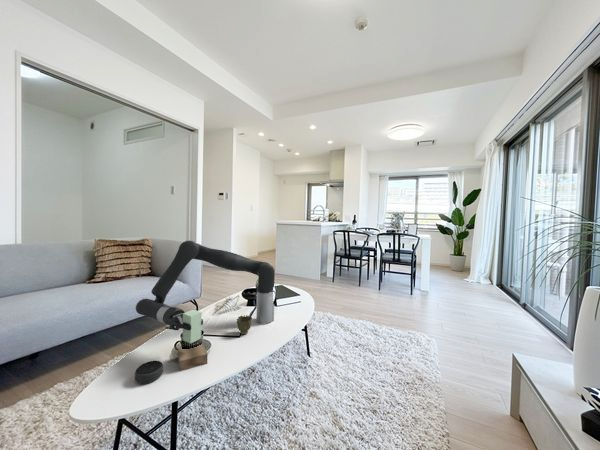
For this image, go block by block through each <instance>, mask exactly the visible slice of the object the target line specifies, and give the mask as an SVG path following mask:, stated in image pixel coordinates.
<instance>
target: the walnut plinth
mask: <svg viewBox="0 0 600 450" xmlns="http://www.w3.org/2000/svg"><path fill="white" fill-rule="evenodd" d="M201 343H202V344H201V345H199V346H197V347H194V348H190V349H182V347H178V348H177V362H178V366H179V367H178V368H179V371H180V372H182V371H185V370H189V369H192V368H197V367H200V366H203V365H206V364H207V365H208V351H207V349H206V347H205V344H204V342H201Z"/></svg>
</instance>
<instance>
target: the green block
mask: <svg viewBox="0 0 600 450" xmlns="http://www.w3.org/2000/svg"><path fill="white" fill-rule="evenodd" d="M202 313H203V312H202V311H199V310H197V309H191V310H189V311H186V312H185V313H183V322H184V323H188V324H190V325H191V330H190V331H189V330H186V329H182V341H183V342H186V343H188V344H191V345H192V344H193V343H195V342H196V341H200V339H202V325H201V320H202V319H203V318H202V317H203V316H202Z"/></svg>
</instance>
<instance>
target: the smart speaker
mask: <svg viewBox="0 0 600 450" xmlns="http://www.w3.org/2000/svg"><path fill="white" fill-rule="evenodd" d="M134 371H135V372H134V381H135V382H136V383H137V384H140V385H147V384H150V383H154V382H155V381H157V380H158V379H160V377H162V375H163V374H164V363H163V362H162V361H160V360H150V361H146V362H144V363H142V364H140V365H139V366H138V367H137V368H136V369H135V370H134Z"/></svg>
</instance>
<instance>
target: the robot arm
mask: <svg viewBox="0 0 600 450" xmlns="http://www.w3.org/2000/svg"><path fill="white" fill-rule="evenodd" d="M192 260H196V261H197V260H198V261H201V262H202V261H203V262H205V263H208V264H211V265H212V266H215V267H219V268H220V269H225V270H229V271H233V272H245V273H246V272H247V273H250V274H253V275H255V276H258V278H257V279H258V281H257V286H256V315H255V317H256V322H257V324H261V325H266V324H267V325H268V324H271V323H272V322H273V321H275V304H274V287H275V278H276V277H275V275H276V274H275V268H274V266H272V265H271V263H269V262H266V261H260V260H255V259H251V258H247V257H245V256H243V255H241V254H237V253H233V252H231V251H227V250H222V249H217V248H212V247H207V246H204V245H202V244H199V243H197V242H196V241H193V240H185V241H183V242H181V244H179V247H178V250H177V251H176V255H175V256H174V258H173V260H172V262H171V263H170V265H169V266H168V267H167V269H166V270H165V271H164V272H163V274H162V275H161V276H160V277H159V279H158V280H157V281H156V283H155V284H154V286H153V287H152V289H151V290H150V291H151V294H152V295H153V296H154V297H155V299H150V298H142V299H140V300H139V301H138V302H137V303H136V305H135V311H136V313H137V314H139V315H142V316H145V317H148V318H152V319H154V320H156V321H158V322H161V323H162V324H165V329H166V330H172V331H179V330H183V329H186V330H189V331H190V330H191V325H190V324H188V323H184V322H183V313H186V312H185V311H184V310H183V309H182V308H179V307H176V306H174V305H170V304H169V305H168V304H166V303H165V300H166V297H167V295H168V294H169V292H171V289H172V288H173V286H174V285H175V283H176V282H177V281H178V278H179V277H180V275H181V273H182V272H183V271H184V269H185V268H186V266H187V265H188V264H189V263H190V262H191V261H192ZM203 324H204V319H203V318H202V320H201V326H202V325H203Z"/></svg>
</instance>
